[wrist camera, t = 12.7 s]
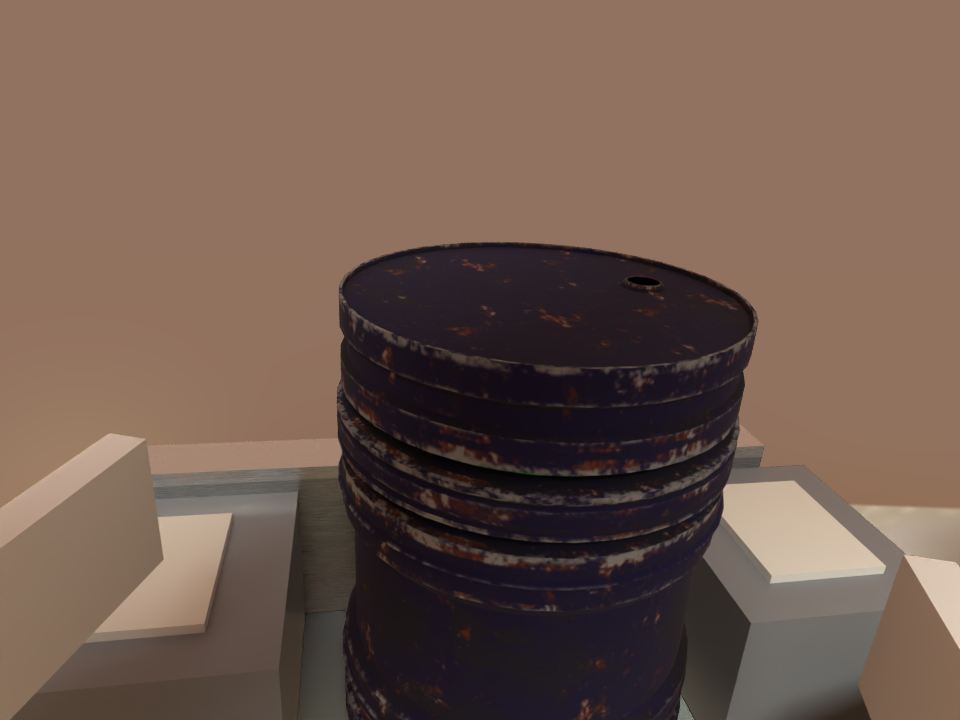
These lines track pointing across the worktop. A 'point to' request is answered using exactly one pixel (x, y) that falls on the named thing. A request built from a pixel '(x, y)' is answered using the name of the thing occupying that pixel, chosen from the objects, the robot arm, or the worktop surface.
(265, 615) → the block
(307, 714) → the worktop surface
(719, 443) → the rusty oil drum
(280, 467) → the rail
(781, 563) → the module block
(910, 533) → the worktop surface
